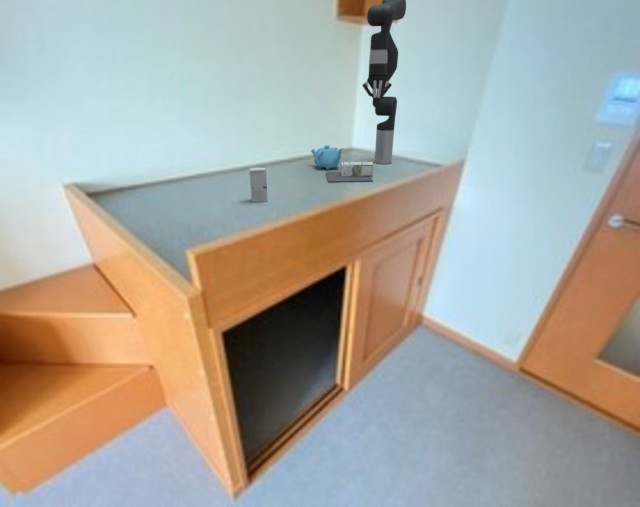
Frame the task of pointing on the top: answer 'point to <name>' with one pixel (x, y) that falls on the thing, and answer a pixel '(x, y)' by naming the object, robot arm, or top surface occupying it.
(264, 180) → the skincare box
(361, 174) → the syrup box
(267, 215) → the top surface
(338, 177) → the mat
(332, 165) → the teapot
